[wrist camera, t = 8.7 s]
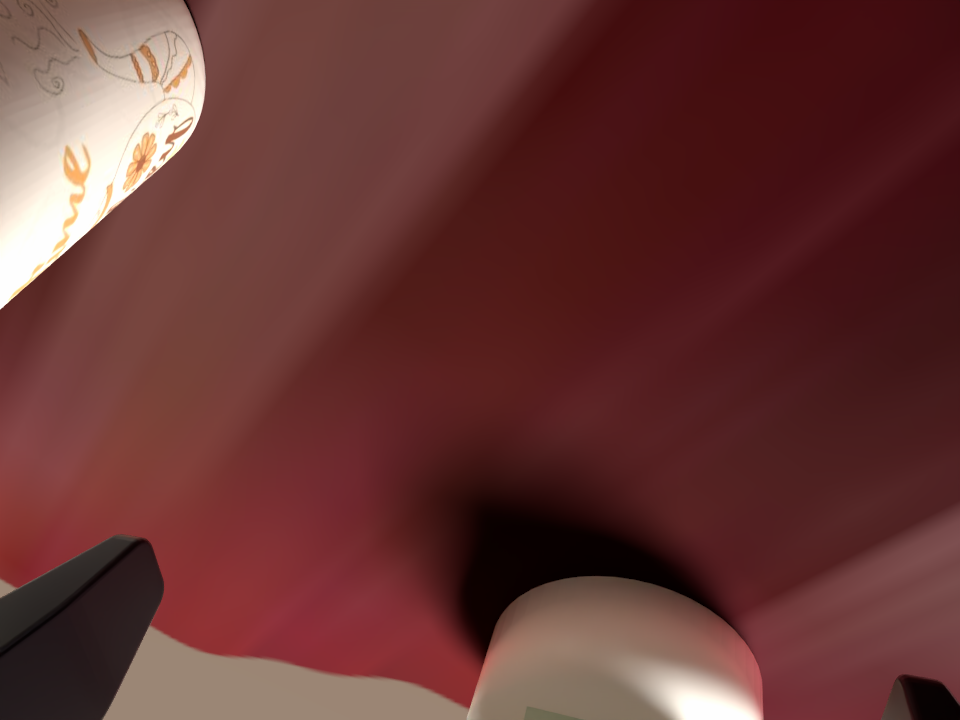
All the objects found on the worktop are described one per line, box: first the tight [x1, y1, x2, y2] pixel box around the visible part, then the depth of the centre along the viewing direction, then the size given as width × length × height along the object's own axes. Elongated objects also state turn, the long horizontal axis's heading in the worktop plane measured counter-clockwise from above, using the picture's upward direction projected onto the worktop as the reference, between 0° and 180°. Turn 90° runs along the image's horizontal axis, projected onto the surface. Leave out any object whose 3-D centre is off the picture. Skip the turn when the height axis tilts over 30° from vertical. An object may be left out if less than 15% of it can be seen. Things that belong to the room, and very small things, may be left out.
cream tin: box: [467, 576, 763, 720], centre depth 26 cm, size 9×9×4 cm
